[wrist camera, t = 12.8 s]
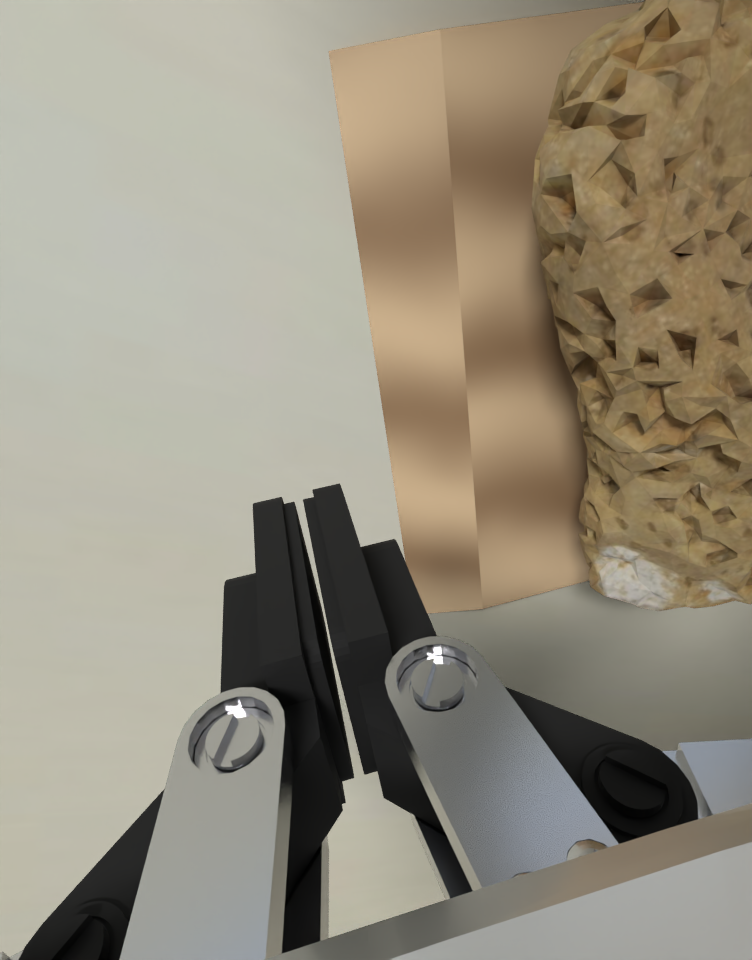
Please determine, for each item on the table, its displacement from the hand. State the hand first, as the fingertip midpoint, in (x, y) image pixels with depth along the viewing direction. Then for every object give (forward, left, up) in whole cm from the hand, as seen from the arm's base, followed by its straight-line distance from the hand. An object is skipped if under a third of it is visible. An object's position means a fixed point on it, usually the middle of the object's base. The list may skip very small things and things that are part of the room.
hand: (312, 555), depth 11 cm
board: (+1, +13, -12) cm, 18 cm away
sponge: (+1, +14, -10) cm, 18 cm away
